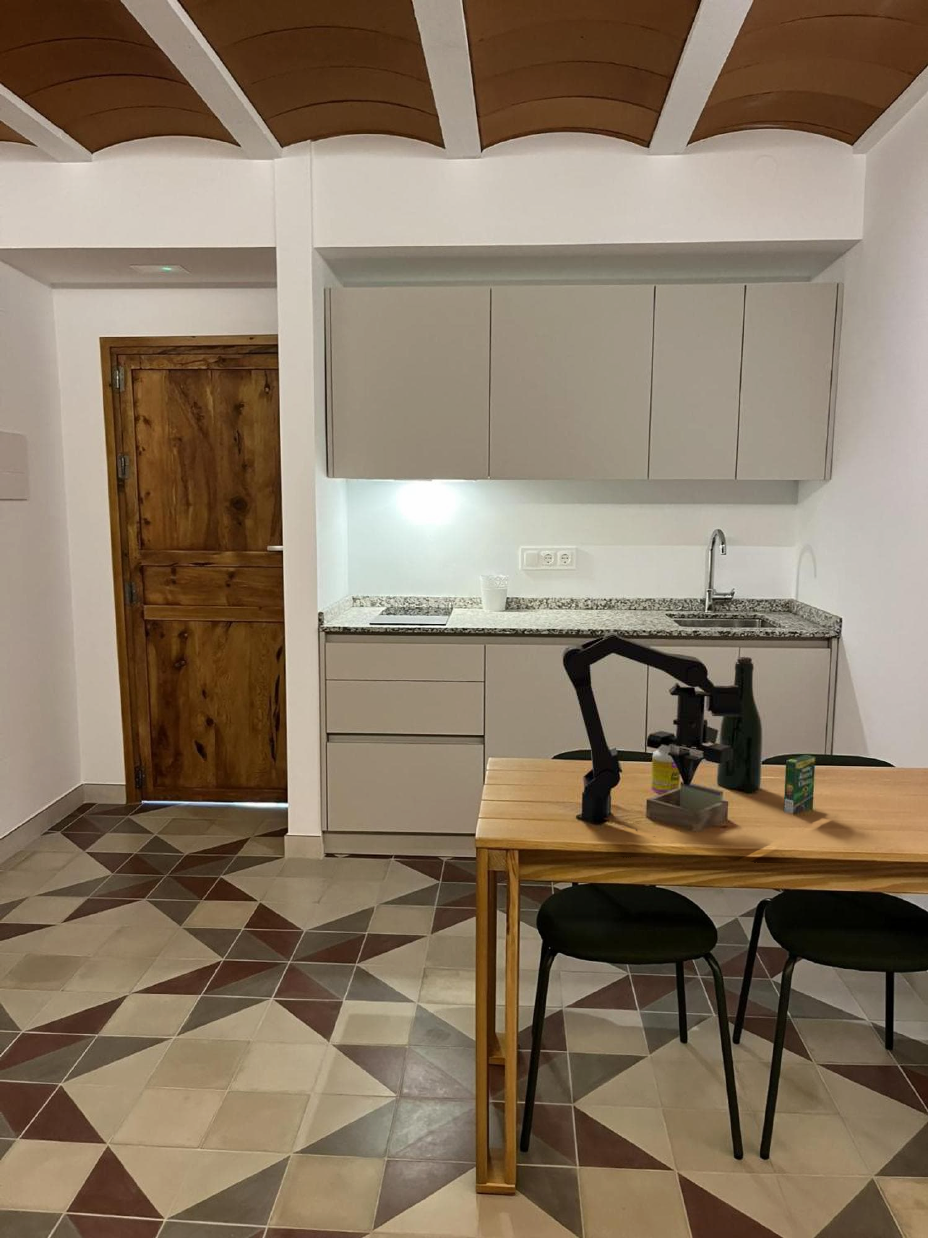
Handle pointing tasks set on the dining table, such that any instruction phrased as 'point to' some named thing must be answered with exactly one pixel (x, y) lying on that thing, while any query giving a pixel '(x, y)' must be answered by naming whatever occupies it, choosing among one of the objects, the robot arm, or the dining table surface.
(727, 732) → the green wine bottle
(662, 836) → the dining table surface
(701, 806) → the green grey flat panel
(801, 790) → the coffee box
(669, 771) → the supplement bottle
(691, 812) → the brown hollow box
